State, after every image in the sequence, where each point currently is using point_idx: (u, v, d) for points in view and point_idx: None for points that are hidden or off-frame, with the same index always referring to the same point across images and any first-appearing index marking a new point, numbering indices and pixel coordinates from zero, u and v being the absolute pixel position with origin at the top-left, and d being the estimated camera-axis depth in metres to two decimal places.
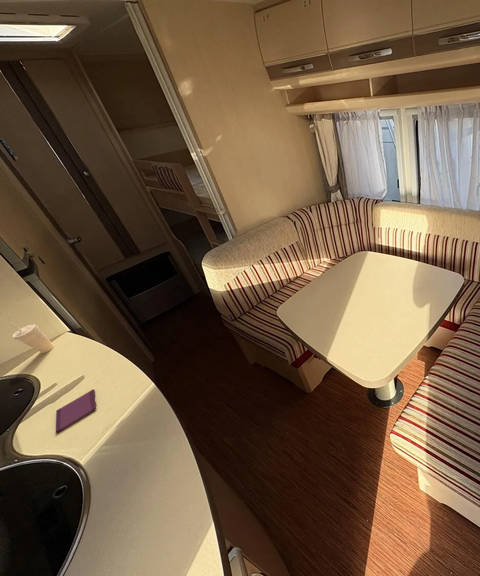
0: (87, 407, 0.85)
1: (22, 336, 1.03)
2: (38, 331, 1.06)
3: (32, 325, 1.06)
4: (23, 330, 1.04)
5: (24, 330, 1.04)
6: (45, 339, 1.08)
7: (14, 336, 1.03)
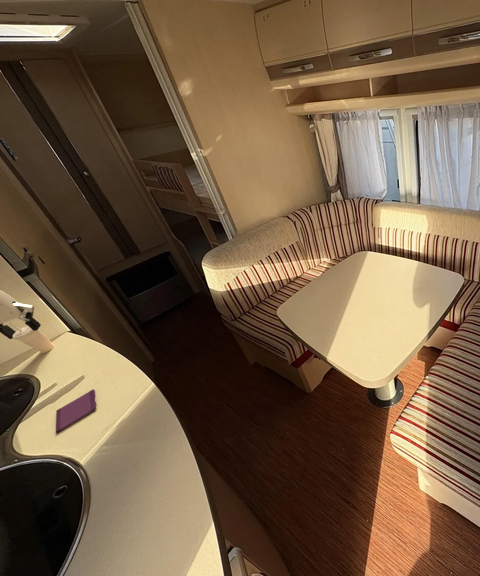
0: (87, 407, 0.85)
1: (22, 336, 1.03)
2: (38, 331, 1.06)
3: None
4: (23, 330, 1.04)
5: (24, 330, 1.04)
6: (45, 339, 1.08)
7: (14, 336, 1.03)
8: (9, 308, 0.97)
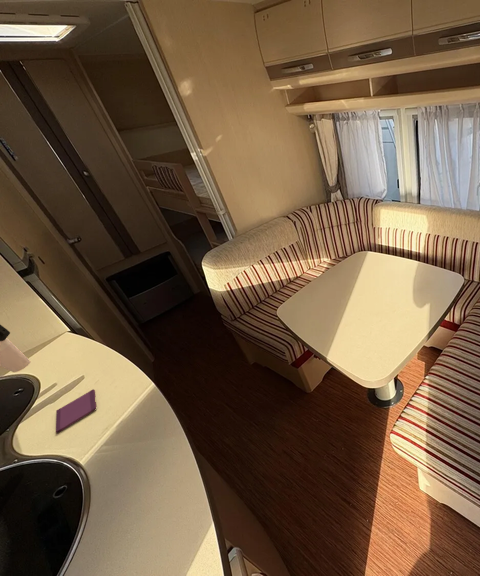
0: (87, 407, 0.85)
1: None
2: (6, 342, 0.74)
3: None
4: None
5: None
6: (17, 353, 0.76)
7: None
8: None
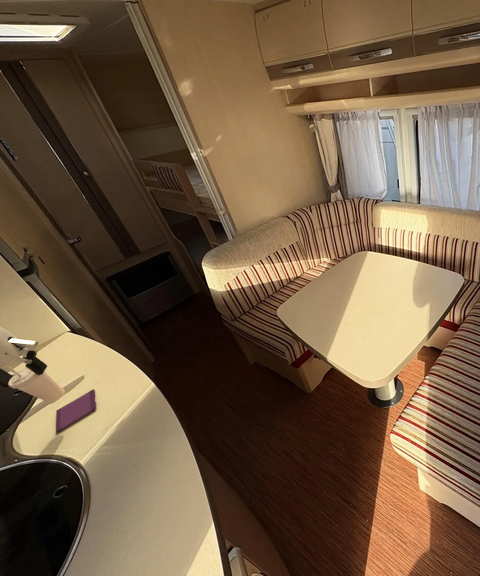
0: (87, 407, 0.85)
1: (22, 384, 0.74)
2: (44, 374, 0.77)
3: None
4: (23, 374, 0.75)
5: (24, 374, 0.75)
6: (53, 384, 0.79)
7: (10, 384, 0.74)
8: (3, 348, 0.68)
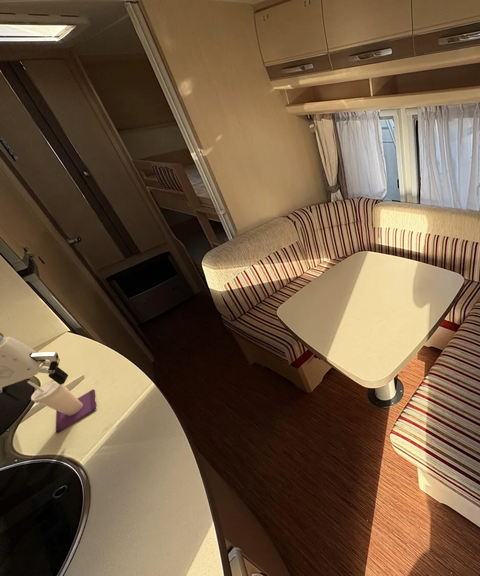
0: (87, 407, 0.85)
1: (44, 398, 0.77)
2: (64, 389, 0.81)
3: None
4: (45, 389, 0.79)
5: (46, 389, 0.79)
6: (72, 398, 0.83)
7: (33, 398, 0.78)
8: (25, 364, 0.72)
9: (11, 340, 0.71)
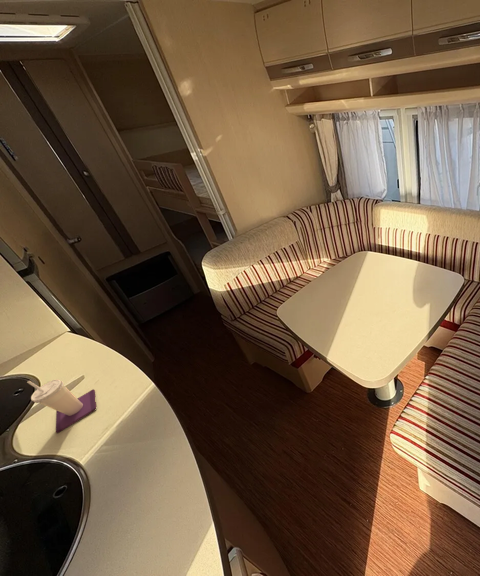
0: (87, 407, 0.85)
1: (44, 398, 0.77)
2: (64, 389, 0.81)
3: (56, 381, 0.81)
4: (45, 389, 0.79)
5: (46, 389, 0.79)
6: (72, 398, 0.83)
7: (33, 398, 0.78)
8: None
9: None
